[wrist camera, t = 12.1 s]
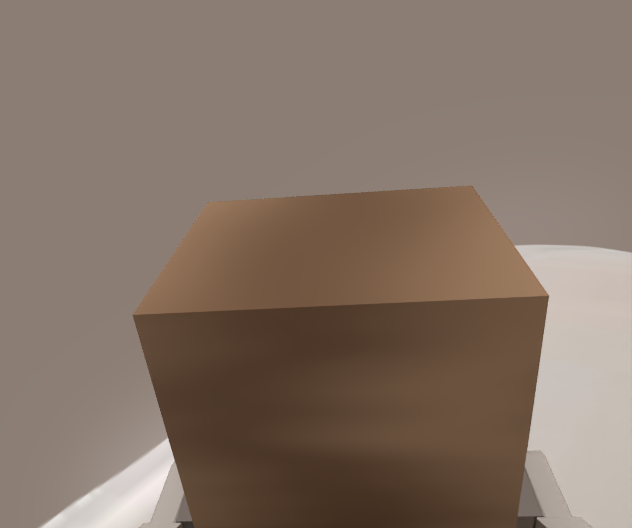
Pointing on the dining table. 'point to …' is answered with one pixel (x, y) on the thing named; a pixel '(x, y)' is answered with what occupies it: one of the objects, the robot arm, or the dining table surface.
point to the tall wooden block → (347, 361)
